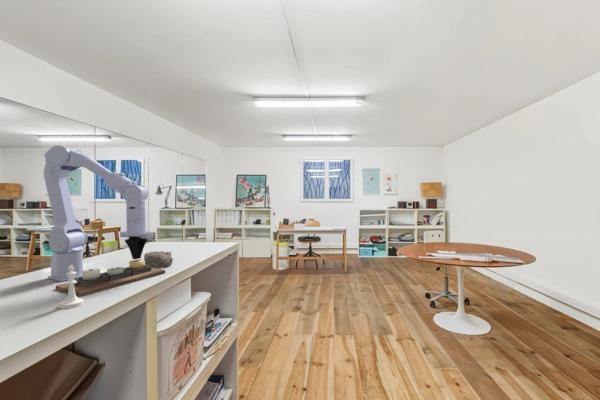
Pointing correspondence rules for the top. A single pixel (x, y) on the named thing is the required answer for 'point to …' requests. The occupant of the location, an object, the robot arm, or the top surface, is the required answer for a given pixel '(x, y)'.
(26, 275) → the top surface
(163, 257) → the stone
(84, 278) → the button one
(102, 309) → the top surface
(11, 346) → the top surface
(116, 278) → the button board
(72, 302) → the chess piece
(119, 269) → the button two
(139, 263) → the button three
